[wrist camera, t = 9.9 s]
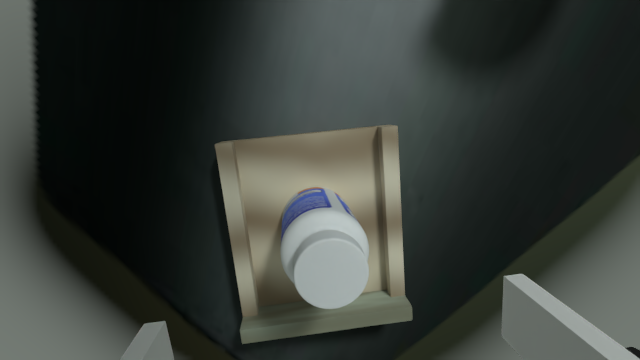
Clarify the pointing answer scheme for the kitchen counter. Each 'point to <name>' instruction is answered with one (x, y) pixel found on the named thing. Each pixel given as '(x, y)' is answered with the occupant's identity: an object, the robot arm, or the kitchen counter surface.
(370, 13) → the kitchen counter surface
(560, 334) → the robot arm
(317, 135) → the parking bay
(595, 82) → the kitchen counter surface
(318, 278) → the pill bottle
